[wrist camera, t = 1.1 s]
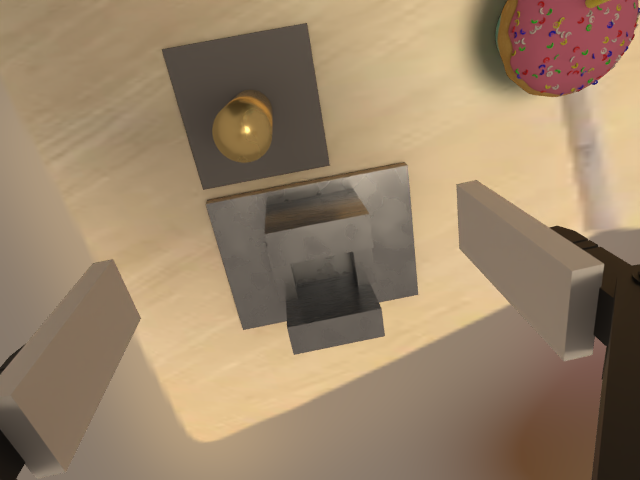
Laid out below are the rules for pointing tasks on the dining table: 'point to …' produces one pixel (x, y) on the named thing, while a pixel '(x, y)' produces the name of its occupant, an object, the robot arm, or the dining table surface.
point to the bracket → (319, 254)
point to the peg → (244, 127)
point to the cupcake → (563, 42)
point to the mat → (251, 74)
